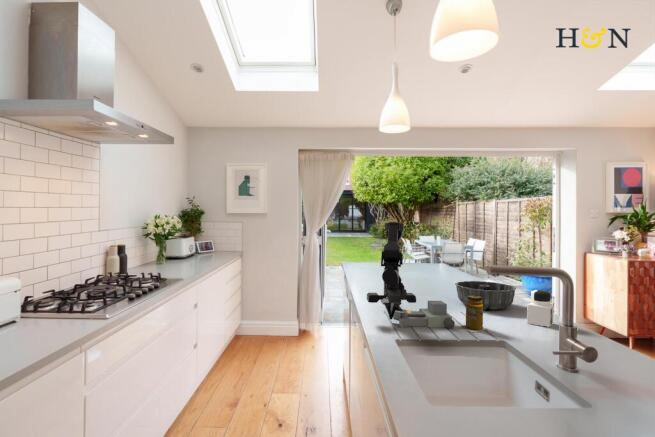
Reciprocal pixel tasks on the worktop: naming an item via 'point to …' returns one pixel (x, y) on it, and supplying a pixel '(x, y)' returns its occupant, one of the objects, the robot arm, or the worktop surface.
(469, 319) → the condiment
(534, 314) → the container
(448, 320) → the grey blocky piece
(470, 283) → the bundt pan
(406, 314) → the grey rectangular block
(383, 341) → the worktop surface
